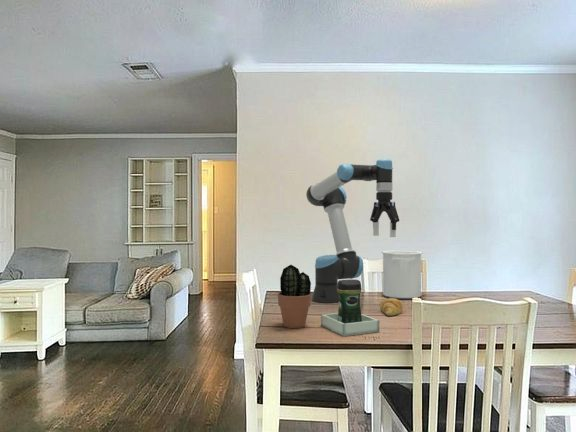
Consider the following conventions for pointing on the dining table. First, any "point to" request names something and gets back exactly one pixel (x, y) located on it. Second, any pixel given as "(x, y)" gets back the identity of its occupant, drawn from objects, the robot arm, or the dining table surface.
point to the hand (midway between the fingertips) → (384, 236)
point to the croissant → (391, 306)
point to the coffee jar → (349, 301)
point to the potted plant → (294, 297)
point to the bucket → (402, 274)
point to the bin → (350, 325)
